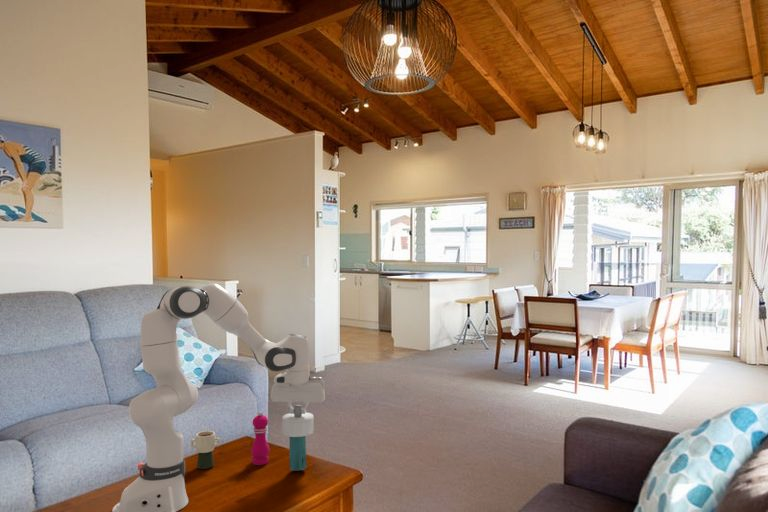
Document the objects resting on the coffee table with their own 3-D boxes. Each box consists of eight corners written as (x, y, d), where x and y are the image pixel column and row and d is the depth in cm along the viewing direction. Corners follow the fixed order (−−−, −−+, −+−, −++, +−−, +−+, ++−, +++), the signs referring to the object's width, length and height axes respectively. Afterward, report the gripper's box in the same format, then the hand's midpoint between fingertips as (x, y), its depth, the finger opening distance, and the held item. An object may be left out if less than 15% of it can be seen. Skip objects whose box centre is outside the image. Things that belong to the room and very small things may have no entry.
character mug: (221, 462, 204) (221, 429, 204) (218, 470, 197) (218, 435, 197) (192, 464, 202) (192, 431, 202) (188, 472, 195) (188, 437, 195)
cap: (291, 439, 188) (291, 411, 188) (277, 431, 197) (277, 405, 197) (319, 432, 195) (319, 406, 195) (304, 425, 204) (304, 400, 204)
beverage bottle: (303, 475, 192) (302, 421, 192) (286, 474, 193) (286, 420, 194) (309, 468, 198) (308, 416, 199) (292, 467, 200) (292, 415, 200)
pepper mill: (250, 459, 207) (250, 409, 208) (268, 457, 209) (268, 408, 210) (251, 466, 200) (251, 414, 201) (270, 464, 203) (270, 413, 203)
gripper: (326, 375, 199) (326, 411, 199) (273, 374, 199) (273, 410, 199) (324, 378, 192) (324, 416, 192) (269, 378, 193) (269, 415, 193)
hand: (298, 413), depth 196 cm, fingers closed on cap, 3 cm apart
